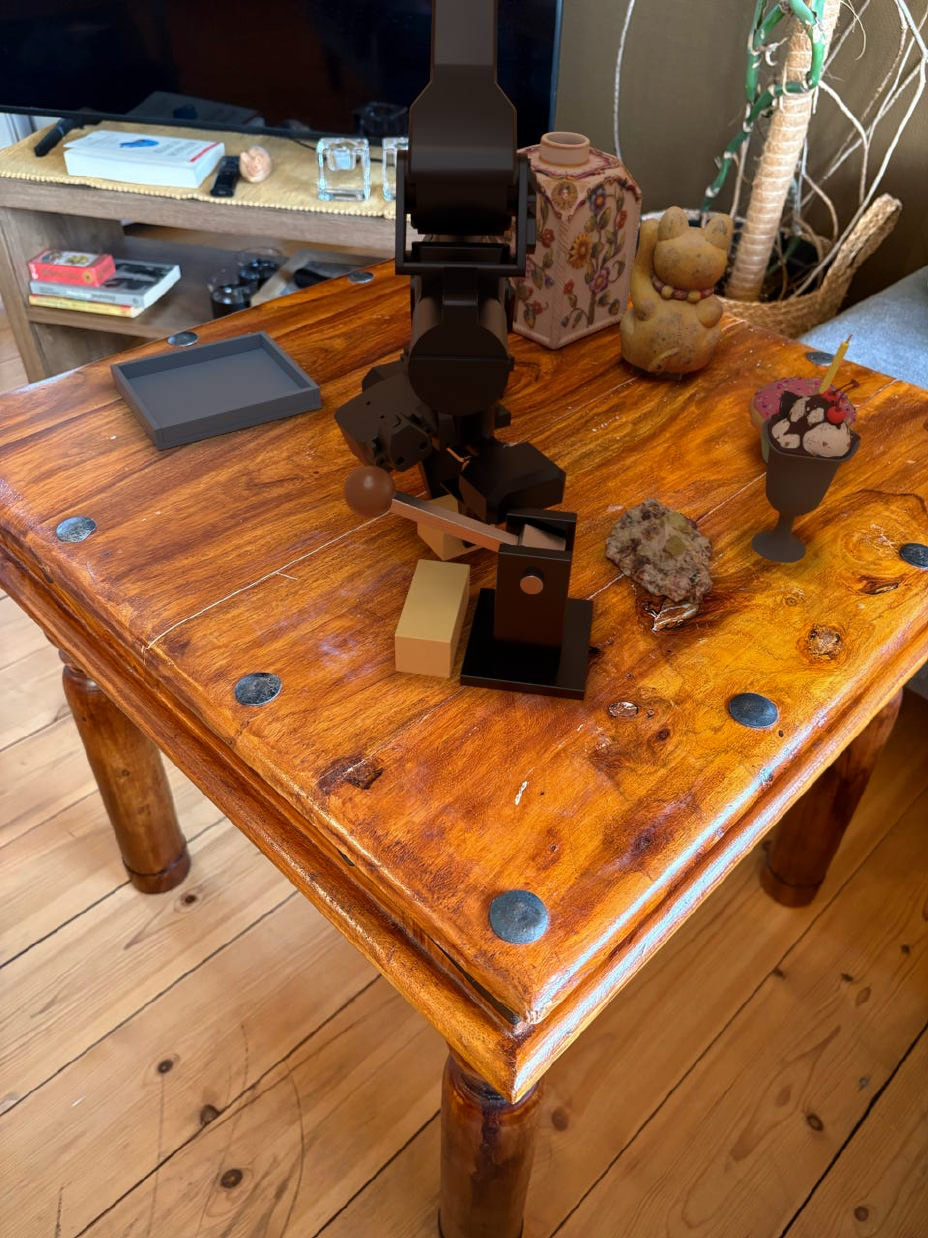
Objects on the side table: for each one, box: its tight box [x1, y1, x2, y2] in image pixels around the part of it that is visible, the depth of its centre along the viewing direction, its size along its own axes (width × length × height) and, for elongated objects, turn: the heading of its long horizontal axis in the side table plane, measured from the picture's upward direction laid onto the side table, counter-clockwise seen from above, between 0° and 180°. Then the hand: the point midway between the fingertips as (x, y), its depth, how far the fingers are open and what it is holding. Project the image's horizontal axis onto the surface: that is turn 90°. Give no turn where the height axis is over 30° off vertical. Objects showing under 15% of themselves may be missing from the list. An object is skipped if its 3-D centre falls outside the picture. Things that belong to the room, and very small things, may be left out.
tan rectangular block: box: [394, 558, 471, 679], centre depth 66 cm, size 8×4×4 cm, turn 171°
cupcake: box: [748, 333, 859, 464], centre depth 81 cm, size 9×8×12 cm
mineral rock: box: [605, 498, 714, 605], centre depth 73 cm, size 11×4×8 cm
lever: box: [343, 465, 566, 554], centre depth 61 cm, size 14×3×3 cm, turn 81°
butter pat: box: [416, 494, 496, 562], centre depth 75 cm, size 4×4×3 cm
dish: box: [109, 330, 323, 452], centre depth 91 cm, size 15×13×2 cm
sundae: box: [751, 378, 862, 564], centre depth 71 cm, size 7×7×15 cm
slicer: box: [459, 506, 595, 702], centre depth 64 cm, size 8×9×10 cm
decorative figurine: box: [619, 205, 734, 382], centre depth 92 cm, size 10×8×15 cm
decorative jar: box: [495, 131, 643, 351], centre depth 100 cm, size 12×12×18 cm
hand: (455, 530), depth 75 cm, fingers closed on butter pat, 4 cm apart
